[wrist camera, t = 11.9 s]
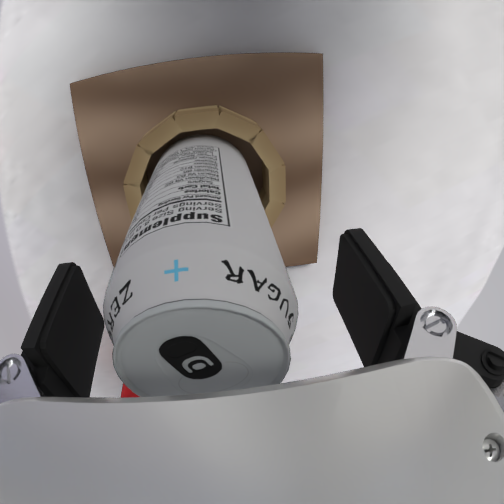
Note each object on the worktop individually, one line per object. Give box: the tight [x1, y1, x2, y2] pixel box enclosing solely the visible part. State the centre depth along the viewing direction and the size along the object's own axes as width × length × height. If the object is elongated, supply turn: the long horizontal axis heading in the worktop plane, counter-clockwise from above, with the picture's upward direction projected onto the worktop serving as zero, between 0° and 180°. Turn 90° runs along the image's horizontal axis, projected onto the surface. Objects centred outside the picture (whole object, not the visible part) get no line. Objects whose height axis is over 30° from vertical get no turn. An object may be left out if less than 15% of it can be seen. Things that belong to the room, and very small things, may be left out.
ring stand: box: [70, 53, 323, 267], centre depth 20 cm, size 16×16×4 cm
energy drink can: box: [103, 134, 298, 397], centre depth 14 cm, size 6×6×15 cm
